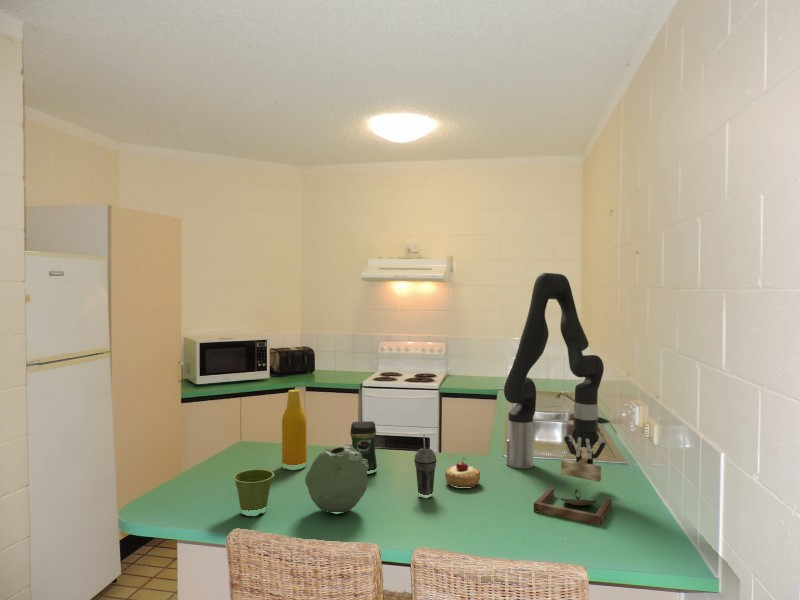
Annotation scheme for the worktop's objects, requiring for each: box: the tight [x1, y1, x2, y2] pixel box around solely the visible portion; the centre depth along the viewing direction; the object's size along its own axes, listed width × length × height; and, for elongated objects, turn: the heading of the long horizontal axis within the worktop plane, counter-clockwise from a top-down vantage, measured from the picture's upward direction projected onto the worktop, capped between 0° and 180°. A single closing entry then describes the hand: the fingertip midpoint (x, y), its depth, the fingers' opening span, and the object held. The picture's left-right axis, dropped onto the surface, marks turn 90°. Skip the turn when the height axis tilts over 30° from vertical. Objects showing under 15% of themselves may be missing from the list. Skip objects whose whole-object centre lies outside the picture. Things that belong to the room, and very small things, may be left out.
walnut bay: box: [533, 487, 612, 527], centre depth 164 cm, size 19×16×2 cm
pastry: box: [444, 457, 481, 487], centre depth 186 cm, size 12×12×9 cm
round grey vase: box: [304, 443, 369, 513], centre depth 162 cm, size 16×19×20 cm
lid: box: [559, 489, 597, 507], centre depth 166 cm, size 11×10×5 cm
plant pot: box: [233, 468, 275, 511], centre depth 162 cm, size 12×12×11 cm
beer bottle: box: [281, 389, 308, 465], centre depth 205 cm, size 9×9×29 cm
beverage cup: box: [413, 434, 437, 495], centre depth 175 cm, size 7×7×20 cm
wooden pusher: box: [560, 452, 602, 483], centre depth 178 cm, size 12×12×4 cm
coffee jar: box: [349, 420, 378, 471], centre depth 199 cm, size 10×8×19 cm
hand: (584, 468), depth 178 cm, fingers closed on wooden pusher, 2 cm apart
